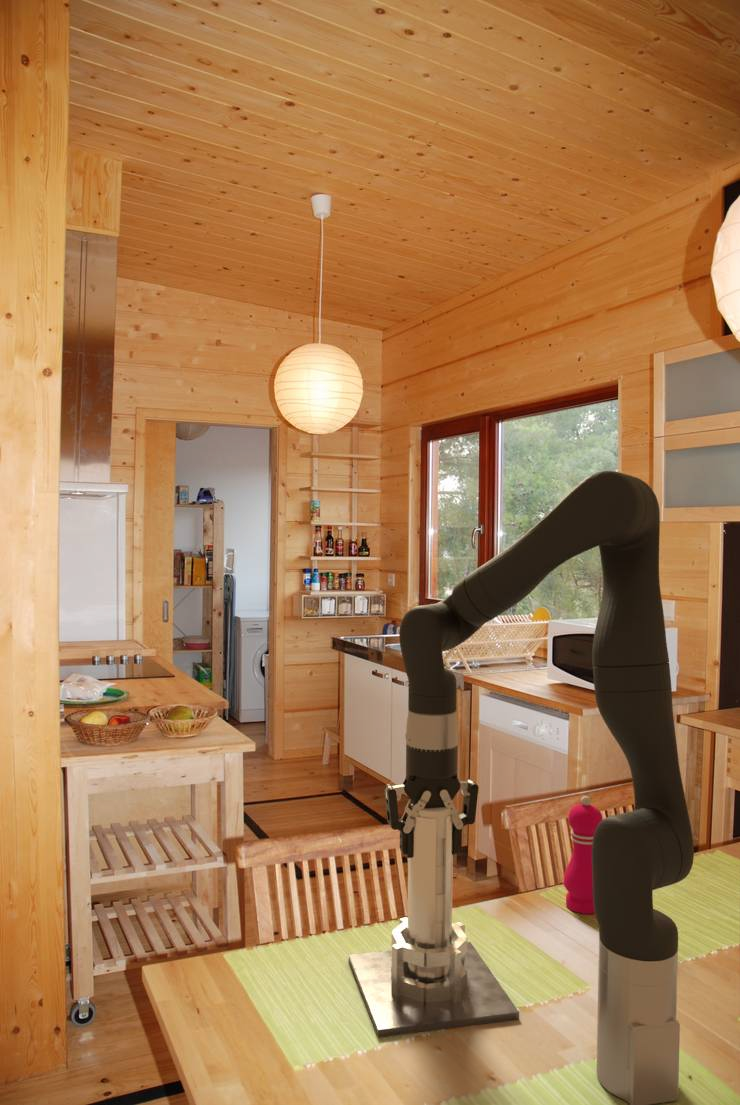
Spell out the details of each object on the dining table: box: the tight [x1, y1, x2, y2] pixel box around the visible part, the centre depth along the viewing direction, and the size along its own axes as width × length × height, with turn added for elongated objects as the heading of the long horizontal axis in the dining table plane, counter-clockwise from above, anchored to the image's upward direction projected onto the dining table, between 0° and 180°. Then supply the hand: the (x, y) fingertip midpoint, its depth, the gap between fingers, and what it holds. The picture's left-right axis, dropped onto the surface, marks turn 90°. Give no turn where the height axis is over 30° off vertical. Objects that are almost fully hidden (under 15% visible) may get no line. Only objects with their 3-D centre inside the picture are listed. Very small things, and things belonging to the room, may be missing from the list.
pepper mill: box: [563, 795, 604, 915], centre depth 151 cm, size 7×7×20 cm
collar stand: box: [348, 916, 520, 1038], centre depth 124 cm, size 20×20×8 cm
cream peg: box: [407, 804, 454, 984], centre depth 124 cm, size 6×6×25 cm
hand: (430, 853), depth 124 cm, fingers closed on cream peg, 6 cm apart
